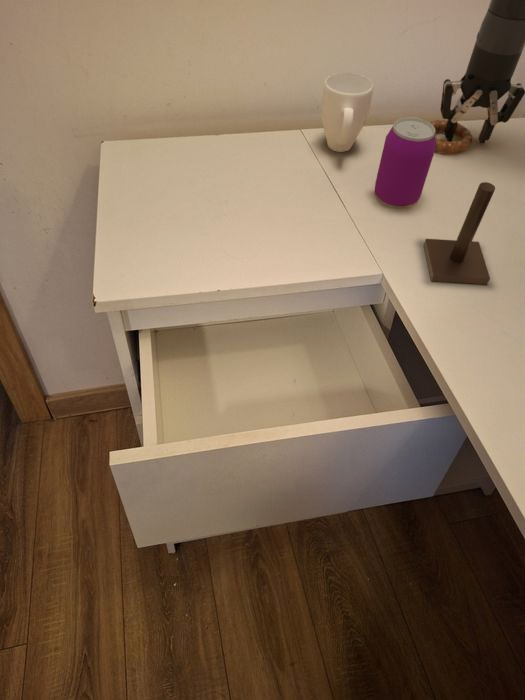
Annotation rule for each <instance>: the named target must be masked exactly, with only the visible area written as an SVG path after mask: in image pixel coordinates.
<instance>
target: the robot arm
mask: <svg viewBox="0 0 525 700" xmlns="http://www.w3.org/2000/svg"><path fill="white" fill-rule="evenodd" d="M484 15H485V16H484V17H483V18H482V19H483V20H482V22H481V24H480V28H479V30H478V32H477V35H476V40H475V43H474V46H473V49H472V51H471V55H470V58H469V61H468V64H467V68H466V71H465V73H464V75H463V76H462V77H461V78H460V80H453V81H451V79H449V78H447V79H445V80H444V81H443V85H442V92H441V102H440V111H439V112H440V114H441V117H442V120H443V119H444V120H446V121H447V125H446V128H445V131H444V132H443V133H444V137H445V139H446V141H449V142H453V139H454V136H455V135H454V133H455V130H456V127H457V125H458V124H459V120H460V119H461V118H462V117H463V115H464V114H466V113H467V112H468V111H469V110H470V109H471V108H478V107H480V108H483V109H486V110H487V111H486V113H487V118H486V119H484V122H483V124H482V126H481V130H480V132H479V135H478V142H479V144H486V142H488V141H489V140H490V139H491V136H492V133H493V131H494V129H495V126H496V125H497V124H498V123H508V121H510V119H511V117H512V115H513V114H514V112H515V110H516V109H517V107H518V106H519V104H520V102H521V101H522V99H523V97H524V96H525V88H524V86H523V85H522V83H521V82H520V83H516V84H514V83H512V78H513V76H514V74H515V71H516V69H517V66H518V63H519V62H520V58H521V55H522V53H523V51H524V48H525V0H490V1H489V4H488V8H487V11H486V13H485V14H484ZM460 89H461V93H462V94H461V95H460V96H459V98H458V99H457V100H456V102H455V105H454V106H453V108H451V106H452V99H453V97H454V96H455V95H457V91H458V90H460ZM506 94H507V96H508V97H507V98H506V99H505V102H504V103H503V105H502V107H500V111H499V107H498V104H499V103H498V101H499V100H500V99H502V97H503V96H505V95H506Z"/></svg>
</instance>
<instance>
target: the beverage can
mask: <svg viewBox="0 0 525 700" xmlns="http://www.w3.org/2000/svg"><path fill="white" fill-rule="evenodd" d="M429 122H430V121H428V120H425V119H422V118H418V117H403V118H399V119H397V120H396V121H395V122H394V123H393V125H392V127H391V129H390V130H389V132H388V133H387V134H386V135H385V139H384V144H383V148H382V152H381V157H380V160H379V165H378V170H377V173H376V174H377V175H376V178H375V183H374V195H375V196H376V197H377V198H378V199H379V201H380V202H381V203H383V204H384V205H386V206H387V207H392V208H397V209H400V208H406V207H410V206H412V205H414V204H416V203H417V202H418V201H419V199H420V198H421V195H422V193H423V190H424V187H425V183H426V181H427V178H428V173H429V171H430V168H431V164H432V161H433V158H434V155H435V152H436V151H435V149H436V138H437V136H436V132H435V128H434V126H433V125H432V124H431V123H429Z"/></svg>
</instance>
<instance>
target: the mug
mask: <svg viewBox="0 0 525 700" xmlns="http://www.w3.org/2000/svg"><path fill="white" fill-rule="evenodd" d="M323 83H324V84H323V89H322V98H321V109H320V110H321V111H320V112H321V123H322V126H323V131H324V135H325V140H326V143H327V147H328V148H329V149H330V150H331V151H334V152H337V153H343V152H348V151H350V150H351V148H352V146H353V145H354V143H355V141H356V140H357V138H358V136H359V135H360V133H361V132H362V130H363V128H364V127H365V124H366V122H367V119H368V116H369V113H370V108H371V103H372V99H373V94H374V93H373V92H374V83H373V81H372V80H371V79H370V78H369V77H367V76H366V75H363V74H361V73H356V72H351V71H340V72H334V73H332V74H330V75H328V76H327V77H326V78H325V80H324V82H323Z"/></svg>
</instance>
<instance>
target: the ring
mask: <svg viewBox="0 0 525 700" xmlns="http://www.w3.org/2000/svg"><path fill="white" fill-rule="evenodd" d="M447 121H448V120H445V119H444V120H443V119H437V120H433V121H428V122H429V123H431V124H432V125H433V126H434V128H435V133H438V132H439V133H444V131H445V128H446V125H447ZM454 136H456V137H457V138H459V140H457V141H452V142H449V141H447V140H443V139H440V138H437V137H436V149H435V152H438V153H441V154H458V153H461V152H465V151H468V149H469V148H470V146H471V145H472V144H473V141H474V138H473V135H472V132H471V131H470V129H468V128H467V127H466V126H464V125H462V124H461V123H458V125H457V127H456V130H455V133H454Z"/></svg>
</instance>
